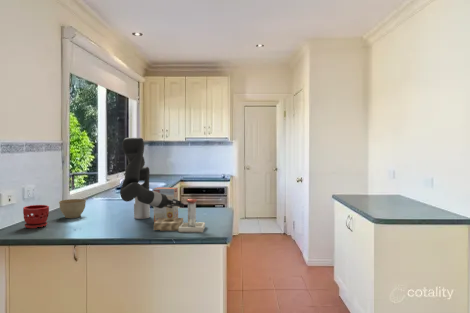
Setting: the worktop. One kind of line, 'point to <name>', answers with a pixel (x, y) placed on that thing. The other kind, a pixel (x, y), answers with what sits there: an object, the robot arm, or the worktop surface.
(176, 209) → the cracker box
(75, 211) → the planter bowl
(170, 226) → the socket block
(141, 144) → the robot arm
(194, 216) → the pin
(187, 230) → the tray
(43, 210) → the plant pot
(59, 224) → the worktop surface
